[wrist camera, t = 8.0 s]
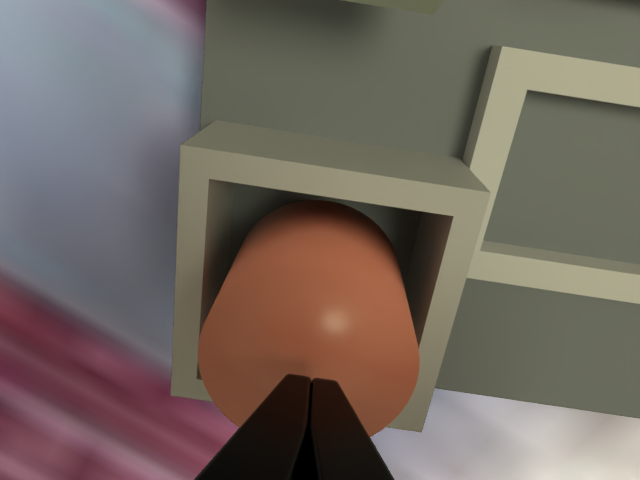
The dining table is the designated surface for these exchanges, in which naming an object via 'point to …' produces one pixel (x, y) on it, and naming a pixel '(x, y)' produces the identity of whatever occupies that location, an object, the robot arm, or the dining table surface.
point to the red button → (312, 315)
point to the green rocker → (405, 4)
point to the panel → (438, 179)
